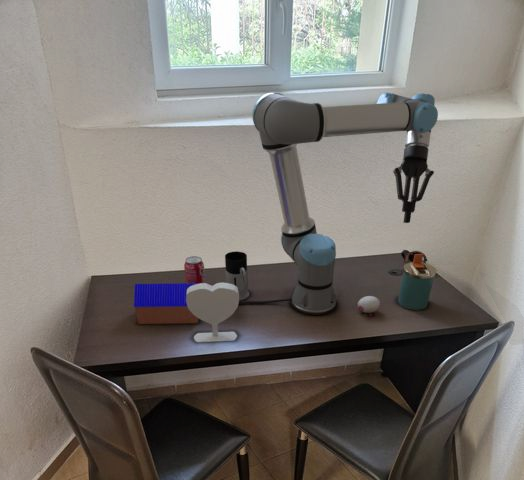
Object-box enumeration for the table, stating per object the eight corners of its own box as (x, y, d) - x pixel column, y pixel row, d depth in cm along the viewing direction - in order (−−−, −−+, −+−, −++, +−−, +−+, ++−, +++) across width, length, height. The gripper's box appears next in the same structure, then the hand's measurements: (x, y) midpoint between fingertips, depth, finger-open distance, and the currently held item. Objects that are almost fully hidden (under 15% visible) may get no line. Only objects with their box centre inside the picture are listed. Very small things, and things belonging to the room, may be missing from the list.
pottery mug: (430, 268, 185) (433, 256, 177) (414, 283, 183) (416, 271, 176) (407, 252, 190) (409, 240, 183) (391, 267, 188) (392, 254, 181)
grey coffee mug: (244, 287, 171) (244, 249, 162) (257, 305, 160) (257, 265, 152) (222, 290, 169) (220, 252, 160) (233, 309, 158) (232, 269, 149)
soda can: (203, 284, 173) (201, 254, 166) (207, 292, 168) (205, 262, 161) (185, 286, 171) (181, 256, 164) (188, 295, 166) (185, 265, 159)
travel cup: (393, 295, 166) (400, 260, 158) (422, 294, 166) (430, 259, 158) (401, 310, 158) (409, 274, 149) (432, 310, 158) (441, 273, 150)
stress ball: (373, 315, 161) (370, 296, 161) (384, 313, 153) (382, 293, 153) (353, 318, 159) (351, 298, 159) (364, 316, 151) (361, 296, 151)
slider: (412, 263, 157) (414, 254, 155) (421, 263, 157) (423, 253, 155) (415, 268, 154) (417, 258, 152) (424, 267, 154) (426, 258, 152)
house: (198, 323, 151) (195, 292, 144) (137, 324, 150) (131, 293, 144) (201, 305, 160) (198, 274, 154) (143, 305, 160) (138, 275, 153)
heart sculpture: (240, 331, 147) (238, 280, 137) (240, 340, 143) (238, 288, 133) (191, 333, 146) (185, 282, 136) (190, 342, 142) (184, 290, 132)
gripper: (399, 142, 146) (389, 219, 149) (440, 145, 145) (430, 222, 149) (393, 149, 153) (384, 222, 157) (433, 152, 153) (423, 225, 156)
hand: (406, 222), depth 153 cm, fingers closed
